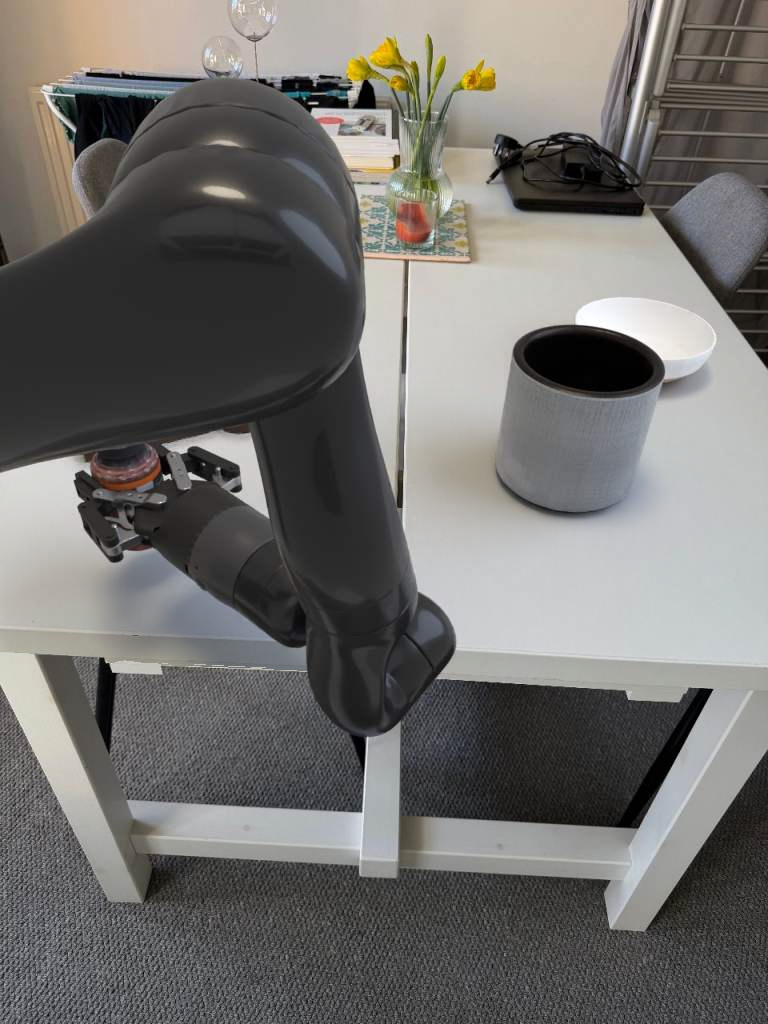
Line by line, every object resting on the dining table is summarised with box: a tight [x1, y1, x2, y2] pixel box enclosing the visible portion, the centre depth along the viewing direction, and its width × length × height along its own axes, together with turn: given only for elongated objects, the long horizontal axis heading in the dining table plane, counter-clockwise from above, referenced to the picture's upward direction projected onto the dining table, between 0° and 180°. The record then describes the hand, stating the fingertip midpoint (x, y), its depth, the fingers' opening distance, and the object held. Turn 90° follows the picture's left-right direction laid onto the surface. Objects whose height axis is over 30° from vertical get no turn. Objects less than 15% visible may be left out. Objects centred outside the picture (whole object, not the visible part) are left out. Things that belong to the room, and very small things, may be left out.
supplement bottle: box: [89, 443, 165, 552], centre depth 67 cm, size 6×6×11 cm
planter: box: [495, 324, 665, 513], centre depth 81 cm, size 16×16×16 cm
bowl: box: [573, 296, 717, 383], centre depth 105 cm, size 20×20×6 cm
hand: (112, 464), depth 67 cm, fingers closed on supplement bottle, 6 cm apart
